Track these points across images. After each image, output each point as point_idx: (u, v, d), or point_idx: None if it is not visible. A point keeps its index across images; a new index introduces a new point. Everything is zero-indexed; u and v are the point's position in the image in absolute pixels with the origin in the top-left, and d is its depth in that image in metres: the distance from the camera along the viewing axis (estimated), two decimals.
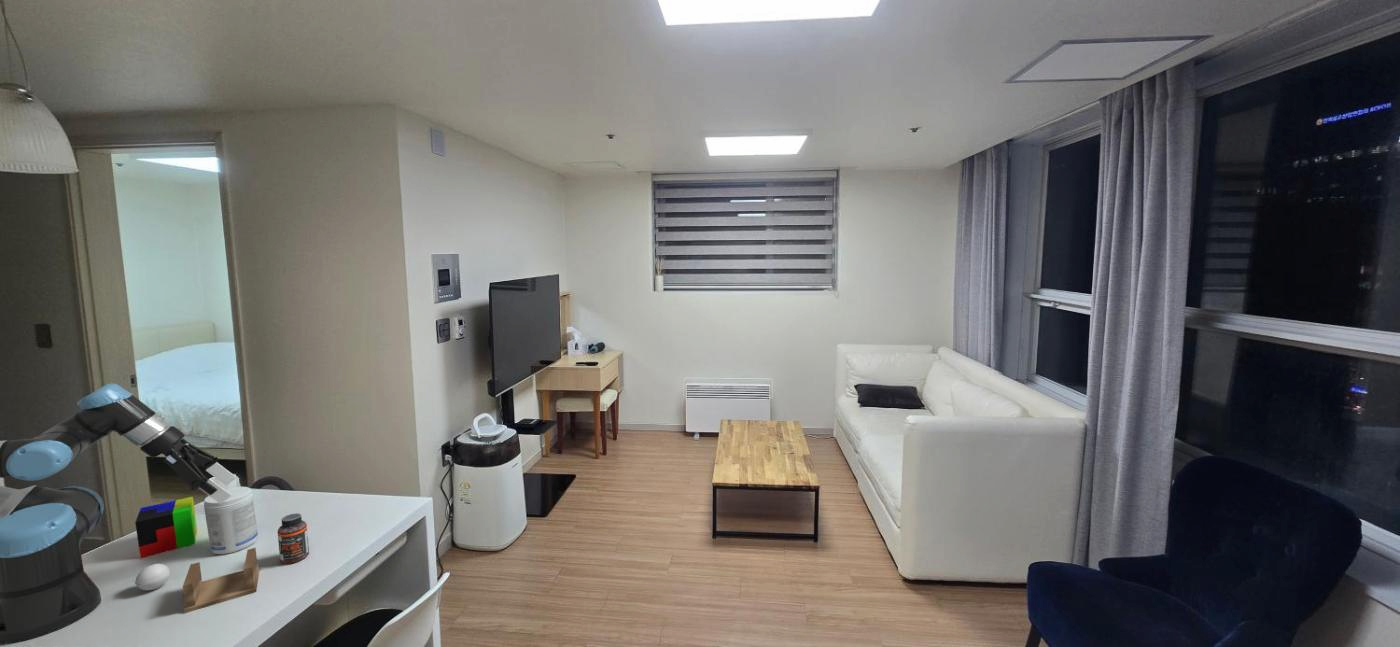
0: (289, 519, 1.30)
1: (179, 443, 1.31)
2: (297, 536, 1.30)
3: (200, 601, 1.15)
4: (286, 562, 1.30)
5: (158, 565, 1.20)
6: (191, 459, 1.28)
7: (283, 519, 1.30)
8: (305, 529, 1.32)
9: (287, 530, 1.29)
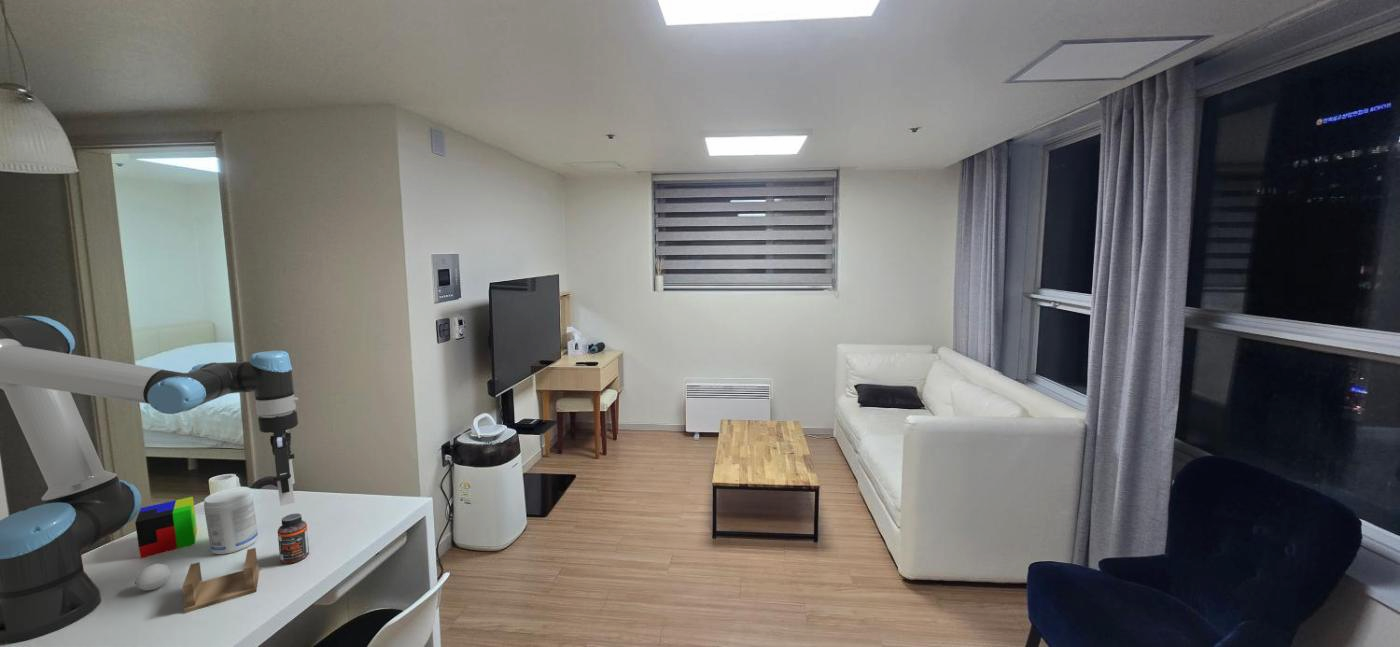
0: (289, 519, 1.30)
1: None
2: (297, 536, 1.30)
3: (200, 601, 1.15)
4: (286, 562, 1.30)
5: (158, 565, 1.20)
6: (289, 450, 1.27)
7: (283, 519, 1.30)
8: (305, 529, 1.32)
9: (287, 530, 1.29)
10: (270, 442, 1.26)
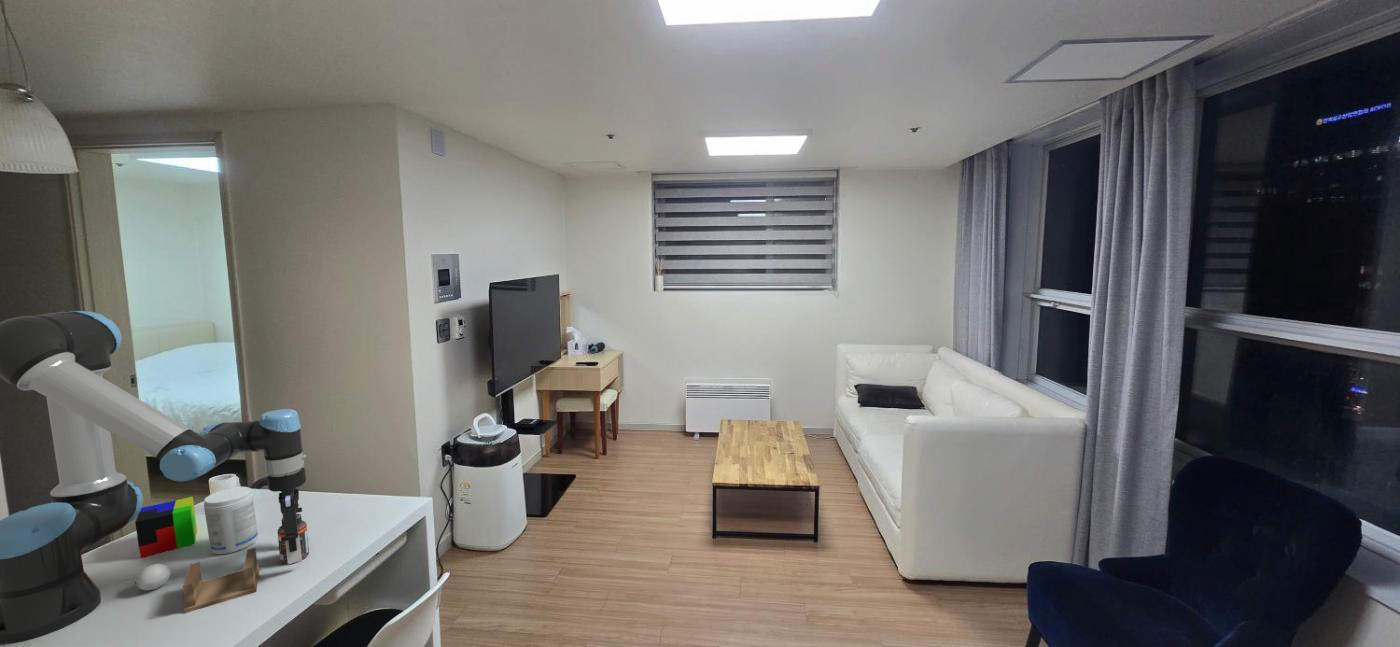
0: None
1: None
2: None
3: (200, 601, 1.15)
4: (286, 562, 1.30)
5: (158, 565, 1.20)
6: (297, 508, 1.29)
7: None
8: (305, 529, 1.32)
9: None
10: None
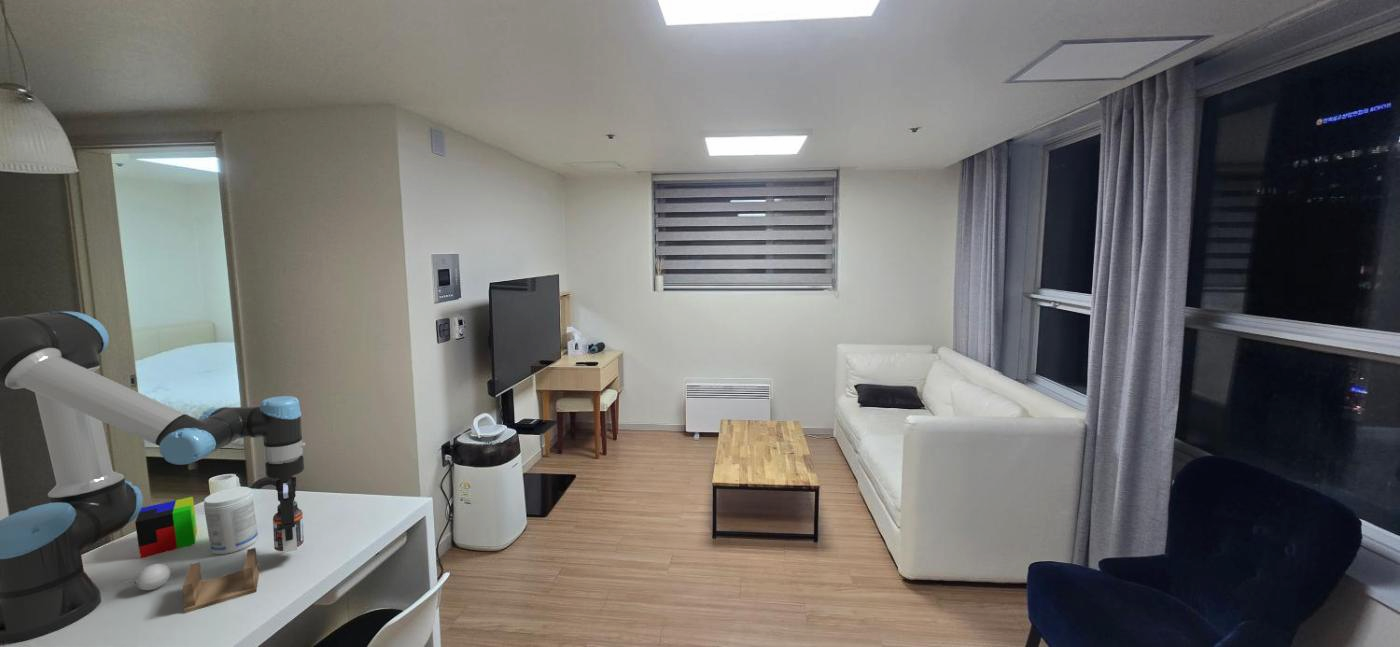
0: None
1: None
2: None
3: (200, 601, 1.15)
4: (280, 549, 1.29)
5: (158, 565, 1.20)
6: (294, 497, 1.29)
7: (279, 506, 1.29)
8: (301, 517, 1.32)
9: None
10: (276, 489, 1.27)
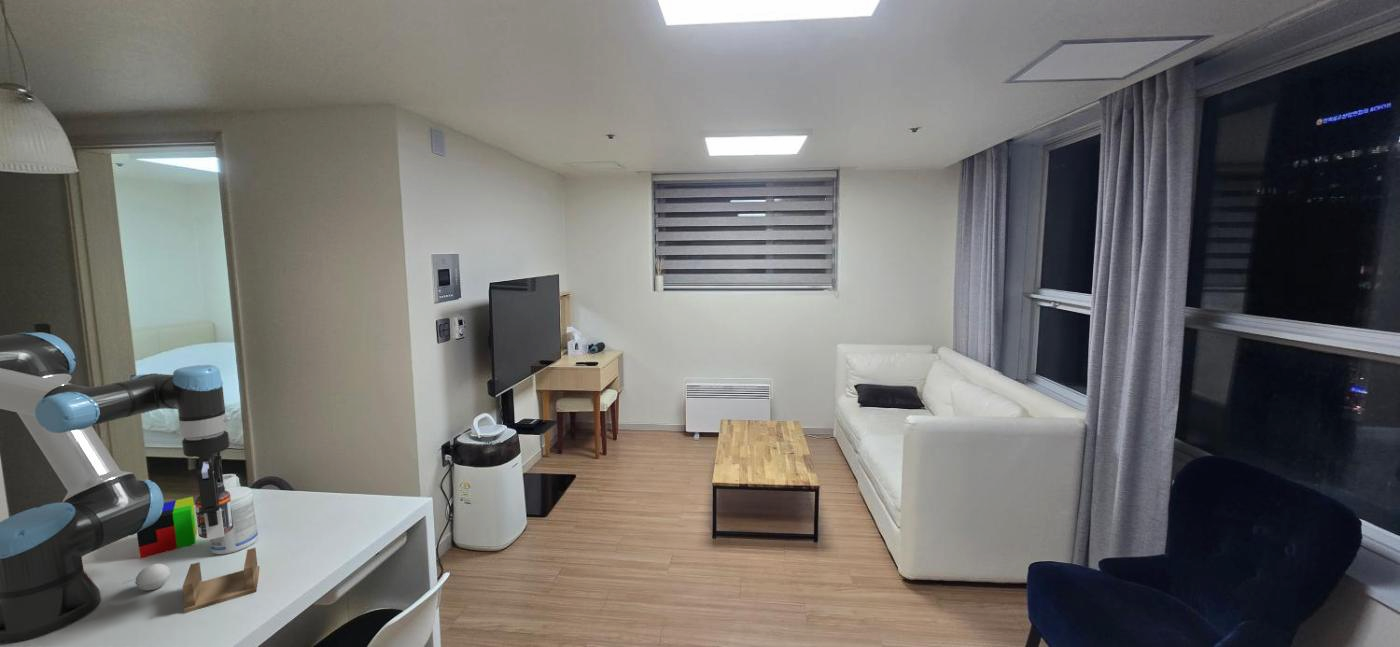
0: None
1: None
2: None
3: (200, 601, 1.15)
4: (204, 536, 1.15)
5: (158, 565, 1.20)
6: (218, 477, 1.15)
7: None
8: (228, 500, 1.18)
9: None
10: None
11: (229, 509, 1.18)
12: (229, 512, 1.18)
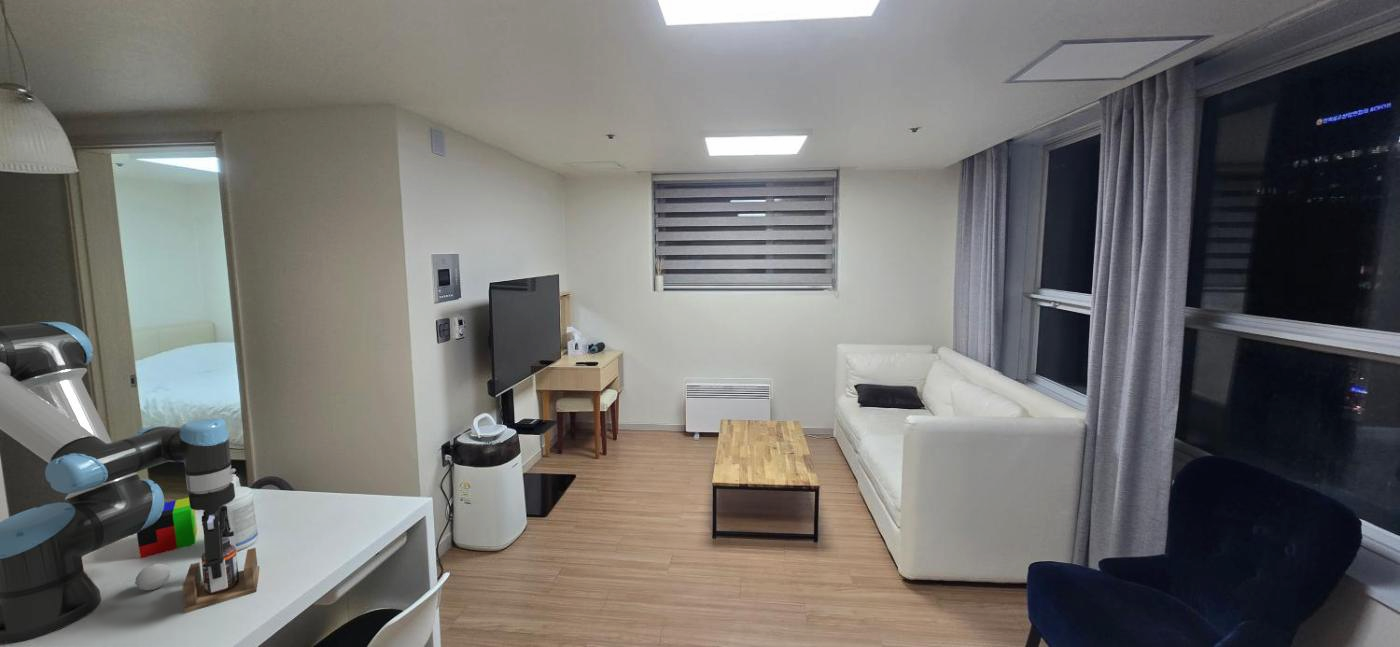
0: None
1: None
2: None
3: (200, 601, 1.15)
4: (211, 592, 1.17)
5: (158, 565, 1.20)
6: (223, 529, 1.16)
7: None
8: (233, 555, 1.19)
9: None
10: None
11: (235, 564, 1.20)
12: (235, 566, 1.20)
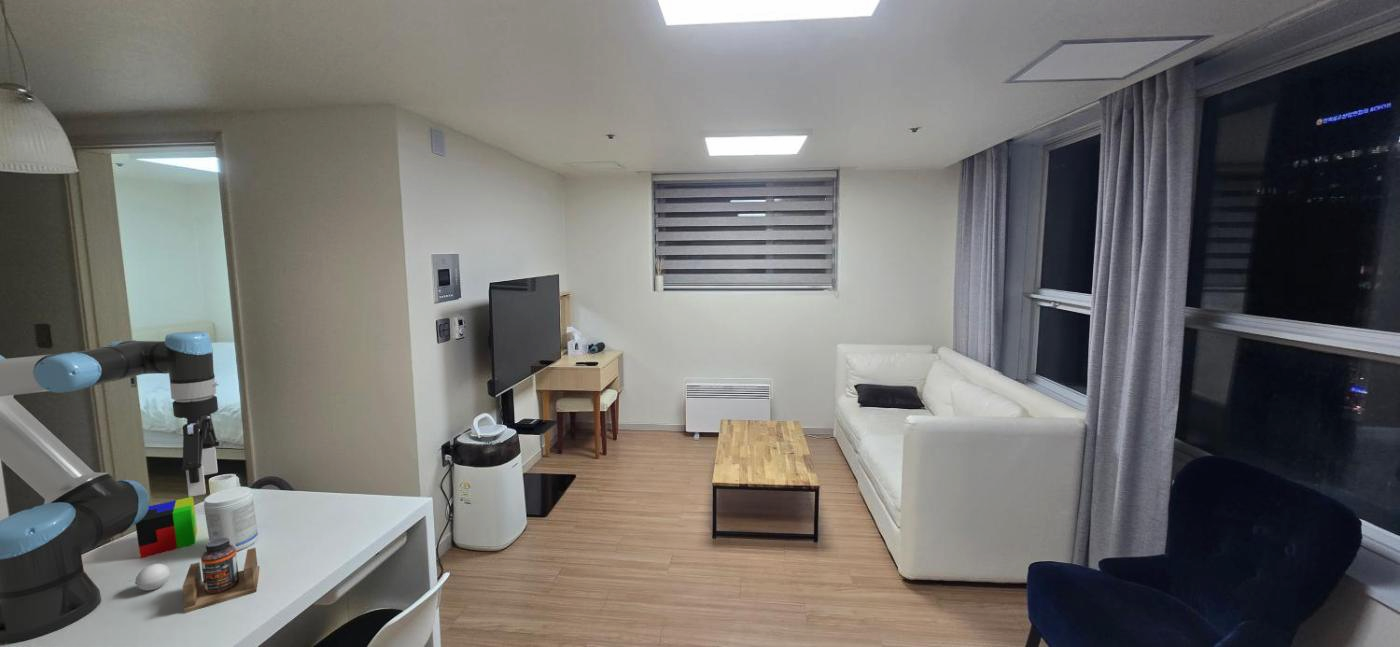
0: (214, 543, 1.17)
1: (205, 414, 1.24)
2: (223, 563, 1.17)
3: (200, 601, 1.15)
4: (210, 592, 1.17)
5: (158, 565, 1.20)
6: (204, 437, 1.19)
7: (207, 544, 1.17)
8: (233, 555, 1.19)
9: (211, 556, 1.16)
10: None
11: (234, 564, 1.20)
12: (234, 567, 1.20)
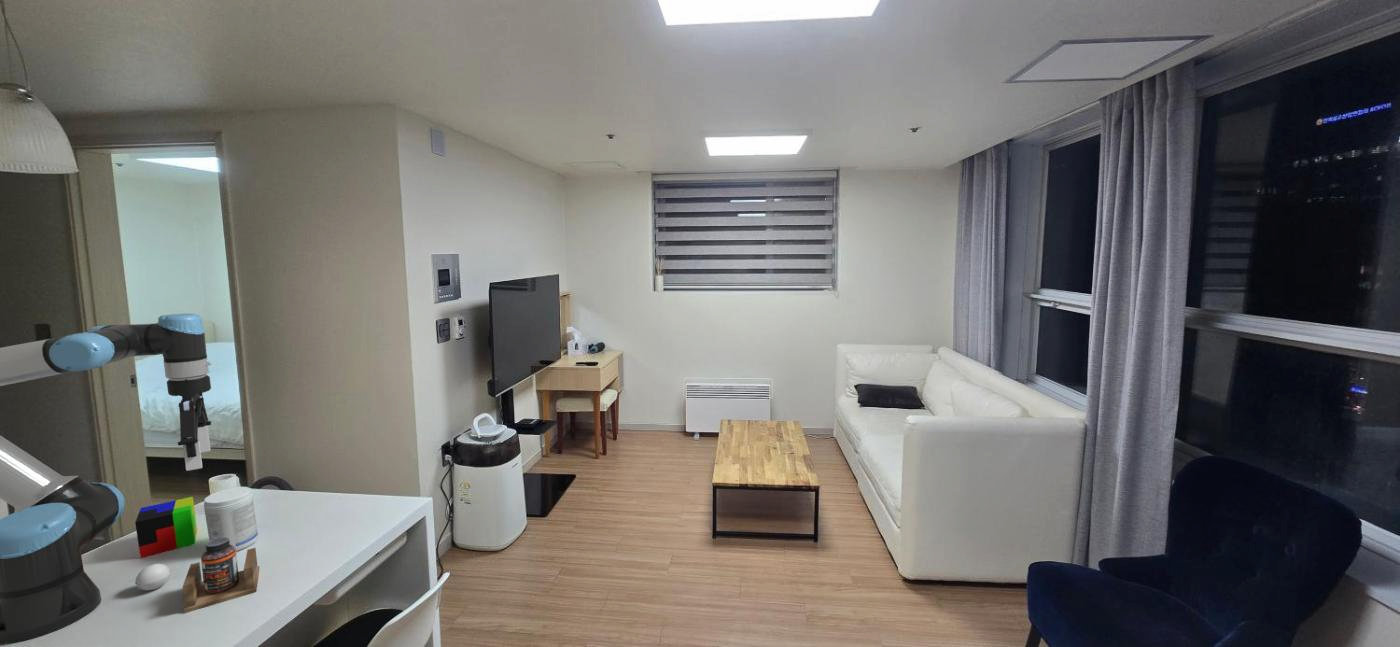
0: (214, 543, 1.17)
1: (198, 393, 1.29)
2: (223, 563, 1.17)
3: (200, 601, 1.15)
4: (210, 592, 1.17)
5: (158, 565, 1.20)
6: (199, 414, 1.25)
7: (207, 544, 1.17)
8: (233, 555, 1.19)
9: (211, 556, 1.16)
10: None
11: (234, 564, 1.20)
12: (234, 566, 1.20)
